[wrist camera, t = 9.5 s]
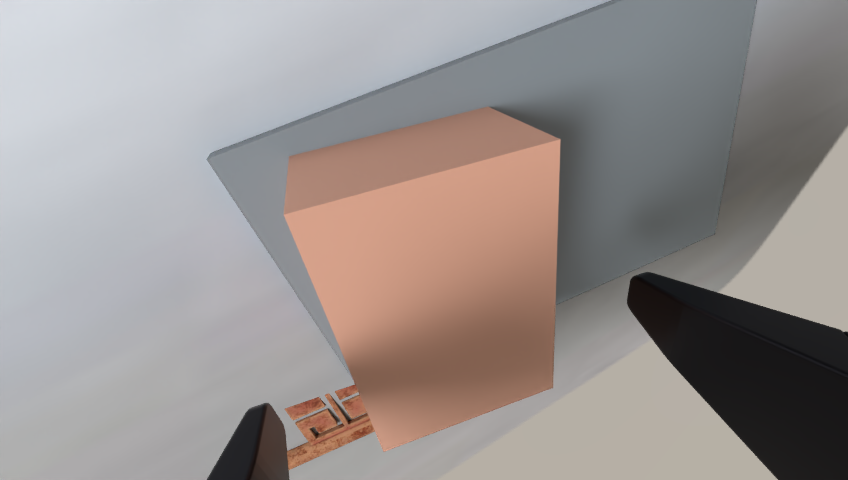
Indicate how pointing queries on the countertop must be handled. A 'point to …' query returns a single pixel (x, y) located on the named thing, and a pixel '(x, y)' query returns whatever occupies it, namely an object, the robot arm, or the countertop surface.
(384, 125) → the mat
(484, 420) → the countertop surface
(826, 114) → the countertop surface
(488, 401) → the card box
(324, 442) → the key
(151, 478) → the countertop surface
